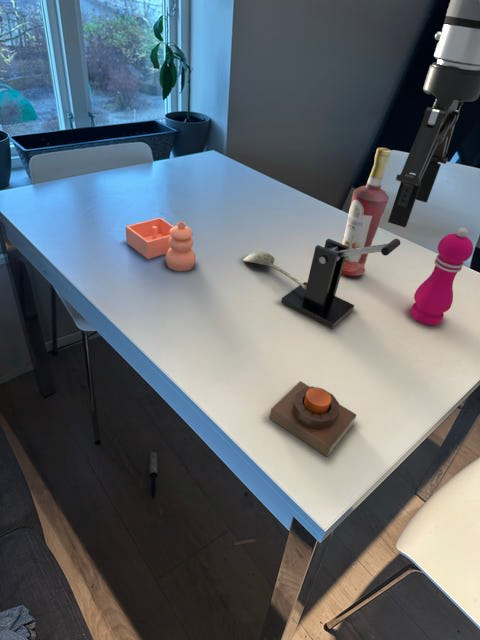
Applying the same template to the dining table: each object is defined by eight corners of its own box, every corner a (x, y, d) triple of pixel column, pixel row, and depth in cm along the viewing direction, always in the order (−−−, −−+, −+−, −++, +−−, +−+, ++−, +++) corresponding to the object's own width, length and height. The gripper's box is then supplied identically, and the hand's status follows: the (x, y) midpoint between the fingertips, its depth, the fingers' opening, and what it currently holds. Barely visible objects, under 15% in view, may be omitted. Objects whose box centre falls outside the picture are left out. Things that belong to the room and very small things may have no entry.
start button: (333, 404, 65) (335, 396, 64) (320, 418, 63) (323, 410, 62) (312, 391, 67) (314, 383, 66) (299, 405, 64) (301, 396, 63)
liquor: (371, 276, 104) (410, 154, 87) (347, 283, 100) (384, 156, 83) (350, 261, 108) (383, 142, 92) (326, 267, 105) (357, 145, 88)
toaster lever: (401, 248, 78) (399, 235, 77) (390, 257, 74) (387, 244, 74) (331, 257, 87) (328, 245, 87) (318, 266, 84) (315, 254, 83)
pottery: (126, 242, 105) (124, 202, 99) (160, 233, 110) (160, 195, 104) (170, 277, 95) (171, 235, 89) (205, 265, 100) (208, 224, 94)
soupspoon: (260, 256, 107) (237, 264, 104) (260, 243, 105) (237, 251, 102) (324, 294, 92) (300, 304, 89) (326, 279, 90) (301, 289, 87)
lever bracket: (353, 310, 92) (371, 250, 84) (331, 329, 86) (349, 267, 78) (303, 286, 97) (317, 228, 89) (280, 302, 91) (292, 242, 83)
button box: (353, 424, 67) (360, 406, 65) (327, 457, 62) (333, 439, 60) (297, 390, 72) (302, 372, 69) (269, 418, 67) (273, 400, 64)
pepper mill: (410, 323, 90) (448, 233, 78) (405, 303, 96) (440, 217, 84) (446, 330, 90) (490, 240, 78) (439, 309, 95) (479, 223, 83)
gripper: (450, 55, 71) (406, 185, 84) (408, 65, 53) (361, 228, 66) (500, 64, 68) (447, 197, 81) (473, 77, 51) (411, 244, 63)
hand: (408, 211), depth 74 cm, fingers open, 13 cm apart
